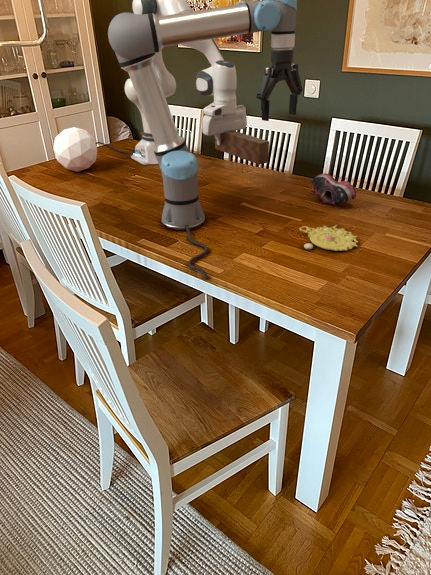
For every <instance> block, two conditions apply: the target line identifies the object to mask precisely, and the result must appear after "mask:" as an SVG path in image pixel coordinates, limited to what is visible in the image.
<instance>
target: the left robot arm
mask: <svg viewBox="0 0 431 575" xmlns="http://www.w3.org/2000/svg"><path fill="white" fill-rule="evenodd" d="M131 10H132V11H131V12H132V13H134V14H151V13H154V14H155V15H156V16H158V17H159V16H166V15H172V14H179V13H185V12H192V11H193V10H192V8H191V6H190V4H189V3H188V1H187V0H131ZM180 46H183V47H185V48H191V49H194V50H196V51H199V52H200V53H202V54H203V55H204V56H205V58H206V59H207V60H208V63H209V64H210V67H207V68H204V69H202V70H199V71H198V72H197V74H196V75H195V81H194V82H195V83H194V84H195V88H196V91H197V93H198V94H199V95H200V96H202V97H211V96H213V102H211V103H210V104H209V105H206V106H205V107H204V108H203V109H202V114H204V115H203V116H202V124H201V125H202V126H201V128H202V133H203V135H204V136H207V137H213V136H214V139H215V138H216V140H217V145H222V140H220V138H219V137H220V134H222V133H224V132H226V131H231V130H233V131H241V130H245V129H246V128H247V126H248V118H247V108H246V105H244V104H238V105H237V95H236V94H237V93H236V92H237V88H238V86H237V85H238V81H239V80H238V74H237V69H236V65H235V64H234V63H233V62H232V61H230V60H227V59H226V57H225V56H224V54H223V52H222V51H221V49H220V48H219V46H218V44H217V43H216V41H215V39H210V40H204V41H198V42H192V43H186V44H180ZM155 55H156V56H155V58H154V61H153V64H154V67H155V70H156V72H157V75H158V78H159V81H160V84H161V87H162V89H163V92H164V95H165V98H166V99H167V98H169V97H171V96H173V95H174V94H175V92H176V90H177V82H176V78H175V77H174V75H172V74H171V72H169V71H168V69H167V67H166V65H165V62H164V58H163V49H162V50H161V51H160V52H156V53H155ZM124 93H125V95H126V97H127V99H128V100H129V101H131V103H133V104H134V105H135V106H136V107H137V110H139V113H140V116H141V121H142V128H143V131H140V135H141V136H142V137H141V139H140V140H139V142H138V143H137V144H135V146H133V148H132V152H127V151H124V150H121V149H118V148H115V147H114V146H112V145H110V144H108V143H104V142H101V141H95V143H96V145H97V144H99V145H102V146H107V147H109V148H111V149H112V150H114V151H116V152H119V153H122V154H126V155H130V159H132V160H134V161H135V162H137V163H139V164H141V165H159V163H158V161H157V158H156V156H155V153H154V150H153V149H154V147H155V141H154V139H153V136H152V133H151V131H150V128H149V126H148V123H147V120H146V118H145V115H144V113H143V110H142V107H141V105H140V102H139V100H138V97H137V94H136V92H135V89H134V87H133V84H132V82H131V79H130V78H128V79H126V81H125V84H124Z"/></svg>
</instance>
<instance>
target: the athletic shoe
mask: <svg viewBox="0 0 431 575" xmlns="http://www.w3.org/2000/svg"><path fill="white" fill-rule="evenodd" d="M311 187H312V189H313V190H314V191H309V193H310V194H311V195H316V197H317V198H318V200H319V201H320V200H321V201H322V203H324V204H327V205H333V206H338V205H340V204H344V203H347V202H349V201H352V200H355V199H356V198H357V193H356V189H355V186H354V185H353V184H351V182H350V181H347V180H341V181H337V180H336V179H335V177H333V176H332V175H331V174H328V173H320V174H318V175H316V176H315V177H314V178H313V179H312V181H311Z"/></svg>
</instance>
